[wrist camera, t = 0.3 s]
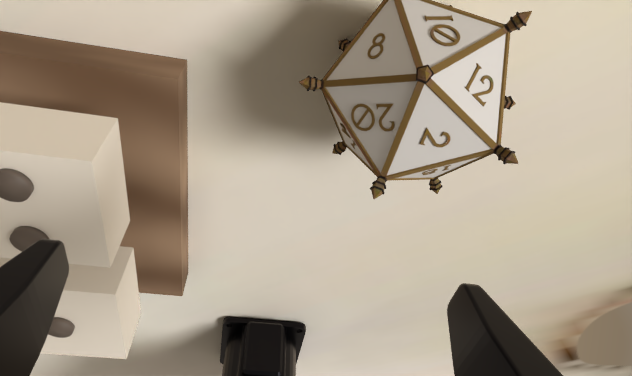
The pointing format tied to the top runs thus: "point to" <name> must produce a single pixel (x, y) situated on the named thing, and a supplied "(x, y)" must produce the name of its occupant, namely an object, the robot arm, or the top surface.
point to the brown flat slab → (121, 134)
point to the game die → (421, 91)
